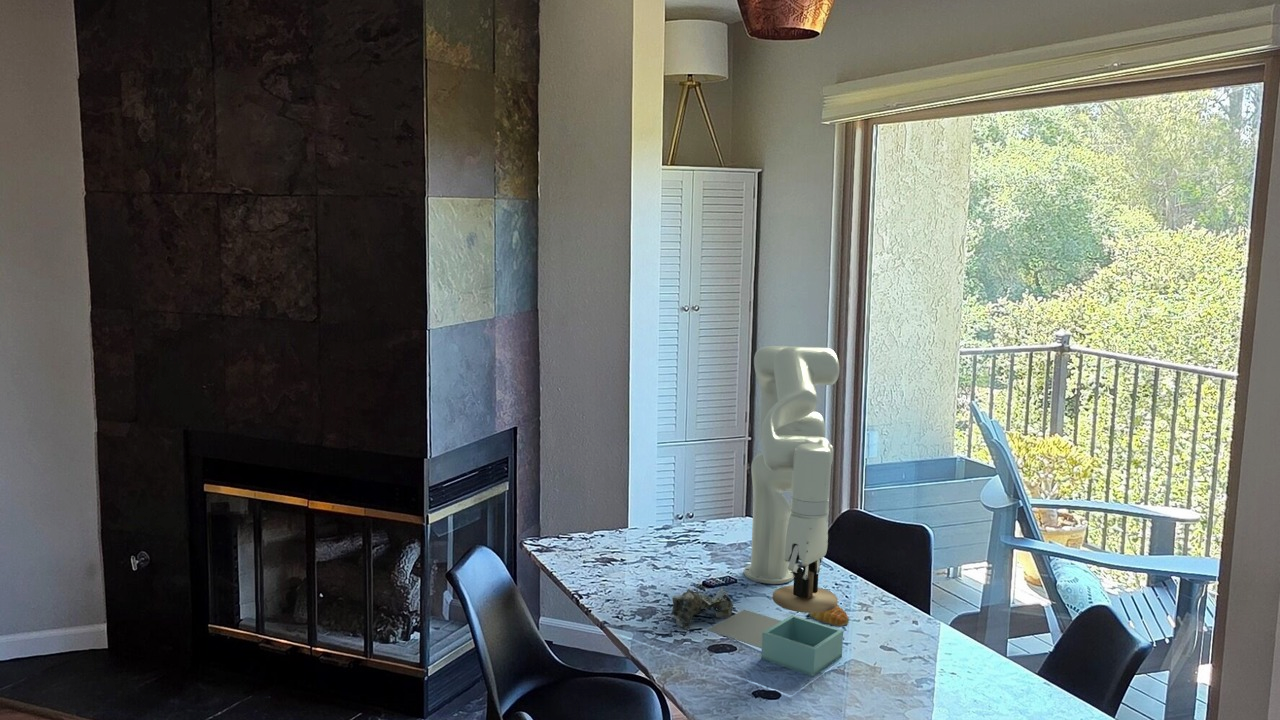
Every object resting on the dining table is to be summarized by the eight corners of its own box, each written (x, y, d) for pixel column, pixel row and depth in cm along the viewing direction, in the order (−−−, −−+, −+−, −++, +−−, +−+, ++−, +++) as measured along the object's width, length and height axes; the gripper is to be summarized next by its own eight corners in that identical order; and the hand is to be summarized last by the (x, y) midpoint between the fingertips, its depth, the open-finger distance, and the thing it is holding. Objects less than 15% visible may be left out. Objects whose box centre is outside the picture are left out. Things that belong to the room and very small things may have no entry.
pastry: (856, 624, 230) (857, 608, 229) (835, 631, 226) (835, 615, 226) (825, 610, 238) (826, 594, 237) (804, 617, 234) (805, 601, 233)
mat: (744, 611, 235) (744, 609, 235) (802, 629, 226) (802, 627, 226) (706, 631, 224) (706, 629, 224) (766, 651, 215) (766, 649, 214)
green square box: (790, 641, 219) (792, 615, 219) (841, 658, 212) (843, 630, 211) (761, 660, 210) (762, 632, 209) (813, 678, 203) (814, 649, 202)
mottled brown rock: (747, 613, 226) (693, 581, 222) (719, 653, 226) (664, 622, 222) (732, 591, 237) (680, 560, 233) (705, 629, 238) (653, 599, 234)
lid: (792, 584, 218) (793, 557, 217) (848, 599, 210) (850, 572, 209) (760, 601, 208) (761, 574, 207) (818, 618, 200) (819, 589, 199)
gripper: (813, 494, 215) (808, 578, 218) (772, 511, 202) (768, 600, 205) (845, 501, 210) (840, 587, 213) (806, 518, 198) (801, 610, 200)
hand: (805, 593), depth 209 cm, fingers closed on lid, 3 cm apart
